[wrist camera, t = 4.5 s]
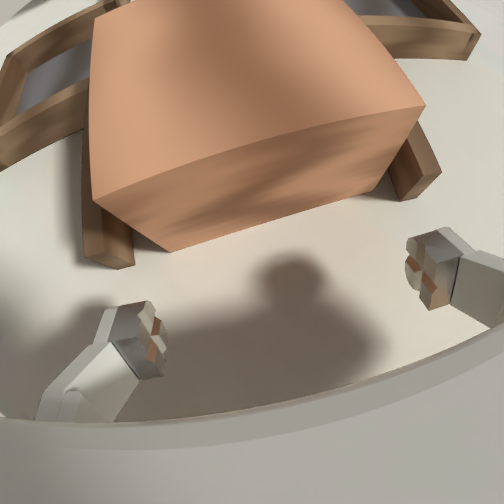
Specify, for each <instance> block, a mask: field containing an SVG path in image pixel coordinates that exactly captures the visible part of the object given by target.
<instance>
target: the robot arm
mask: <svg viewBox="0 0 504 504" xmlns="http://www.w3.org/2000/svg"><path fill="white" fill-rule="evenodd" d="M406 250H407V251H408V253H409V254H410V255H409V256H408V258H407V259H406V261H405V273H406V277H407V280H408V282H409V284H410V286H411V287H412V288H413V289H415V290H417V291H419V292H420V295H419V298H420V299H421V301H422V302H423V304H424V305H425V306H426V308H427V309H428V311H430V310H433V309H436V308H439V307H442V306H445V305H448V304H450V303H451V304H450V305H451V306H453V307H455V308H457V309H458V310H460V311H462V312H464V313H465V314H467V315H469V316H470V317H472V318H474V319H476V320H477V321H479V322H481V323H482V324H484V325H486V326H487V327H489V328H491V329H489V330H487V331H485V332H483V333H481V334H479V335H477V336H475V337H472V338H470V339H468V340H466V341H464V342H462V343H459V344H457V345H455V346H453V347H450V348H448V349H446V350H443V351H441V352H439V353H436V354H434V355H431V356H429V357H426V358H424V359H421V360H419V361H416V362H414V363H411V364H408V365H406V366H403V367H400V368H397V369H395V370H392V371H389V372H386V373H383V374H380V375H377V376H374V377H371V378H368V379H365V380H362V381H359V382H355V383H352V384H349V385H345V386H342V387H338V388H335V389H331V390H327V391H324V392H320V393H316V394H312V395H308V396H304V397H300V398H296V399H291V400H287V401H282V402H278V403H273V404H268V405H263V406H258V407H253V408H247V409H241V410H235V411H229V412H223V413H216V414H209V415H201V416H193V417H185V418H175V419H164V420H151V421H135V422H113V421H114V420H115V418H116V417H117V415H118V414H119V412H120V411H121V409H122V408H123V406H124V405H125V403H126V402H127V400H128V399H129V397H130V396H131V394H132V393H133V391H134V389H135V388H136V386H137V385H138V383H139V382H140V381H139V380H143V379H149V378H156V377H162V376H164V369H165V361H166V359H165V358H164V356H163V355H162V354H163V353H164V352H165V350H166V349H167V343H168V340H167V333H166V330H165V327H164V325H163V323H162V321H161V320H160V319H158V318H156V317H155V311H156V310H155V308H154V306H153V305H152V303H151V302H150V301H142V302H137V303H132V304H126V305H121V306H116V307H111V308H107V309H106V310H105V311H104V313H103V316H102V319H101V322H100V324H99V327H98V330H97V333H96V336H95V339H94V342H93V344H92V345H88V346H87V347H86V348H85V349H84V350H83V351H82V352H81V353H80V354H79V355H78V356H77V357H76V358H75V359H74V360H73V361H72V362H71V363H70V364H69V365H68V366H67V367H66V368H65V369H64V370H63V371H62V372H61V374H60V375H59V376H58V377H57V378H56V379H55V380H54V381H53V382H52V383H51V384H50V385H49V386H48V387H47V388H46V389H45V390H44V392H43V394H42V397H41V400H40V403H39V406H38V410H37V413H36V416H35V419H34V420H23V419H13V418H4V417H0V504H504V258H501V257H498V256H495V255H492V254H489V253H486V252H483V251H480V250H478V251H475V250H474V249H473V248H472V247H471V246H470V245H468V244H467V243H466V242H465V241H464V240H463V239H462V238H461V237H460V236H458V235H457V234H456V233H455V232H454V231H453V230H452V229H451V228H449V227H443V228H440V229H437V230H434V231H432V232H428V233H425V234H421V235H418V236H414V237H410V238H408V240H407V244H406Z"/></svg>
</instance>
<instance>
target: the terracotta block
mask: <svg viewBox="0 0 504 504" xmlns="http://www.w3.org/2000/svg"><path fill="white" fill-rule="evenodd" d="M425 106H426V104H425V103H424V101H423V100H422V98H421V97H420V95H419V93H418V92H417V91H416V89H415V88H414V86H413V85H412V83H411V82H410V80H409V79H408V78H407V76H406V75H405V73H404V72H403V71H402V69H401V68H400V67H399V65H398V64H397V63H396V61H395V60H394V59H393V57H392V56H391V55H390V53H389V52H388V51H387V50H386V48H385V47H384V46H383V45H382V43H381V42H380V41H379V40H378V39H377V37H376V36H375V35H374V34H373V33H372V31H371V30H370V29H369V28H368V27H367V26H366V25H365V23H364V22H363V21H362V20H361V19H360V18H359V17H358V16H357V15H356V13H355V12H354V11H353V10H352V9H351V8H350V7H349V6H348V5H347V4H346V3H345V2H344V1H343V0H135V1H133V2H130V3H128V4H125V5H123V6H121V7H118V8H116V9H114V10H112V11H109V12H107V13H105V14H103V15H101V16H99V17H97V18H95V22H94V30H93V40H92V51H91V64H90V83H89V152H90V171H91V185H92V197H93V201H94V202H96V203H97V204H99V205H100V206H101V207H103V208H104V209H106V210H107V211H109V212H110V213H112V214H113V215H114V216H116V217H117V218H119V219H120V220H122V221H123V222H125V223H126V224H128V225H129V226H131V227H132V228H134V229H135V230H137V231H138V232H140V233H141V234H143V235H144V236H146V237H147V238H149V239H150V240H152V241H153V242H155V243H156V244H158V245H159V246H161V247H162V248H164V249H165V250H167V251H168V252H170V253H172V252H175V251H178V250H181V249H184V248H187V247H190V246H193V245H196V244H199V243H202V242H206V241H209V240H212V239H215V238H218V237H221V236H224V235H227V234H231V233H234V232H237V231H240V230H243V229H247V228H250V227H253V226H256V225H259V224H263V223H266V222H269V221H272V220H276V219H279V218H282V217H285V216H289V215H292V214H295V213H299V212H302V211H305V210H309V209H312V208H315V207H319V206H322V205H325V204H329V203H332V202H335V201H339V200H342V199H346V198H349V197H353V196H356V195H359V194H363V193H366V192H370V191H373V190H374V188H375V187H376V185H377V184H378V182H379V181H380V179H381V178H382V176H383V174H384V173H385V171H386V170H387V168H388V167H389V165H390V164H391V162H392V160H393V159H394V157H395V156H396V154H397V152H398V151H399V149H400V148H401V146H402V144H403V143H404V141H405V140H406V138H407V136H408V135H409V133H410V131H411V130H412V128H413V126H414V125H415V123H416V121H417V120H418V118H419V116H420V115H421V113H422V111H423V110H424V108H425Z"/></svg>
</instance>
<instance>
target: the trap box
mask: <svg viewBox="0 0 504 504" xmlns="http://www.w3.org/2000/svg"><path fill="white" fill-rule="evenodd" d="M343 1H344V2H345V3H346V4H347V5H348V6H349V7H350V8H351V9H352V10H353V11H354V12H355V13H356V15H357V16H358V17H359V18H360V19H361V20H362V21H363V22H364V23H365V25H366V26H367V27H368V28H369V29H370V30H371V31H372V33H373V34H374V35H375V36H376V37H377V39H378V40H379V41H380V42H381V43H382V45H383V46H384V47H385V48H386V50H387V51H388V52H389V53H390V55H391V56H392V57H393V58H436V59H455V60H467V59H468V58H469V56H470V54H471V52H472V51H473V49H474V47H475V45H476V43H477V42H478V40H479V38H480V36H481V33H480V32H479V31H478V30H477V29H476V27H475V26H474V25H473V24H472V23H471V22H470V21H469V20H468V18H467V17H466V16H465V15H464V14H463V13H462V12H461V11H460V10H459V9H458V8H457V7H456V6H455V5H454V4H453V3H452V2H451V1H450V0H343ZM128 3H130V0H103V1H101V2H99V3H96V4H94V5H92V6H90V7H88V8H86V9H84V10H82V11H80V12H78V13H76V14H74V15H72V16H70V17H68V18H66V19H64V20H62V21H60V22H59V23H57V24H55V25H53V26H52V27H50V28H48V29H46V30H45V31H43V32H41V33H40V34H38V35H36V36H35V37H33V38H32V39H30V40H29V41H27V42H25V43H24V44H22V45H21V46H19V47H18V48H16V49H15V50H13V51H12V52H11V53H9V54H8V55H7V56H6V59H5V61H4V63H3V66H2V68H1V71H0V172H1V171H2V170H4V169H6V168H7V167H9V166H11V165H13V164H14V163H16V162H18V161H20V160H21V159H23V158H25V157H27V156H29V155H30V154H32V153H34V152H36V151H38V150H40V149H42V148H44V147H46V146H48V145H50V144H52V143H54V142H56V141H58V140H60V139H62V138H64V137H66V136H68V135H70V134H72V133H75V132H77V131H79V130H81V129H83V128H84V130H83V146H82V179H81V196H82V230H83V247H84V258H87V259H90V260H92V261H95V262H98V263H100V264H103V265H106V266H109V267H111V268H114V269H117V270H119V269H123V268H126V267H130V266H134V265H135V259H134V251H133V243H132V234H131V226H129V225H128V224H126V223H125V222H123V221H122V220H120V219H119V218H117V217H116V216H114V215H113V214H112V213H110V212H109V211H107V210H106V209H104V208H103V207H101V206H100V205H99V204H97V203H96V202H94V201H93V197H92V185H91V171H90V152H89V83H90V64H91V51H92V40H93V30H94V22H95V18H97V17H99V16H101V15H103V14H105V13H107V12H109V11H112V10H114V9H116V8H118V7H121V6H123V5H125V4H128ZM387 169H388V172H389V174H390V177H391V179H392V182H393V185H394V187H395V190H396V192H397V195H398V198H399V201H400V202H401V201H405V200H410V199H414V198H417V197H418V196H419V195H420V194H421V193H422V192H423V191H424V190H425V189H426V188H427V187H428V186H429V185H430V184H431V183H432V182H433V181H434V180H435V179H436V178H437V177H438V176H439V175H440V174H441V173H442V171H441V168H440V166H439V164H438V161H437V159H436V157H435V155H434V153H433V150H432V148H431V146H430V144H429V142H428V140H427V138H426V136H425V134H424V132H423V130H422V128H421V126H420V124H419V122H418V120H417V121H416V123H415V125H414V126H413V128H412V130H411V131H410V133H409V135H408V136H407V138H406V140H405V141H404V143H403V144H402V146H401V148H400V149H399V151H398V152H397V154H396V156H395V157H394V159H393V160H392V162H391V164H390V165H389V167H388V168H387Z"/></svg>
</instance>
